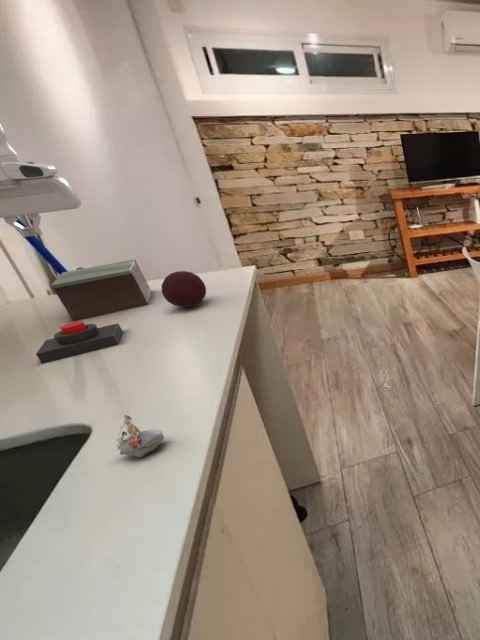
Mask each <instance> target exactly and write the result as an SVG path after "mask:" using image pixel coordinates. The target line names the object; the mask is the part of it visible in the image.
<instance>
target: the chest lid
mask: <svg viewBox="0 0 480 640" xmlns="http://www.w3.org/2000/svg"><path fill="white" fill-rule="evenodd" d="M136 262H137V260H136V259H130V260H124V261H119V262H118V261H117V262H113V263H107V264H102V265H97V266H90V267H84V268H80V269H75V270H68V271H64V272H63V271H62V272H61V274H59V276H58V277H57V278H56V279H55V280H54V281H53V282H52V283H51V284H50V288H51V289H53V288H58V287H64V286H69V285H74V284H79V283H84V282H90V281H95V280H100V279H105V278H110V277H116V276H121V275H126V274H131V273H132V271H133V268H134V266H135V264H136ZM53 290H54V289H53Z"/></svg>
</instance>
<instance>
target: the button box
mask: <svg viewBox="0 0 480 640" xmlns="http://www.w3.org/2000/svg"><path fill="white" fill-rule="evenodd" d="M84 324H85V326H86V328H87V329H85V330H82V331H79V332H76V333H72V334H66V335H64V334H63V332H62V330H60V331H58V332H56V333H54V335H53V338H49V339H46V340H45V341H44V342H43V343H42V345H41V346H40V347H39V349H38V351H37V352H36V353H35V355H36V357H37V359H38V360H39V361H40V363H41V364H44V363H49V362H53V361H57V360H60V359H65V358H69V357H73V356H76V355H80V354H85V353H89V352H93V351H97V350H100V349H105V348H108V347H113V346H116V345H119V343H120V341H121V338H122V335H123V333H124V330H123V329H122V327H121V326H120V324H119V323H118V322H117V323H113V324H108V325H105V326H100V327H98V326H97V324H94V323H84Z"/></svg>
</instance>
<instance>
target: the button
mask: <svg viewBox="0 0 480 640" xmlns="http://www.w3.org/2000/svg"><path fill="white" fill-rule="evenodd" d="M85 324H86V323H84V321H82V320H76V321H73V322H68V323H66V324H63V325H61V326H60V327H59V329H60V331H62V332H63V334H64V335H66V334H72V333H76V332H79V331H82V330H85V329H87V328H86V326H85Z"/></svg>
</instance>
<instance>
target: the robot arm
mask: <svg viewBox="0 0 480 640" xmlns="http://www.w3.org/2000/svg"><path fill="white" fill-rule="evenodd" d="M7 138H8V137H7V134H6V131H5V130H4V128H3V126H2V125H1V124H0V219H3V220H4V222H5V223H6V224H7V225H9V226H11V227H12V228H14V229H16V230H18V231H19V233H20V235H21V236H22V238H26V237H27V238H28V237H33V236H41V235H43V230H41V227H40V225H41V220H42V216H41V215H40V214H45V213H53V212H60V211H68V210H69V211H70V210H77V209H79V208H80V207H81V205H82V201H81V200H80V198H79V196H78V194H77V193H76V191H75V190H74V188H73V187H72V186H71V184H70V183H69V182H68V181H67V180H66V179H65V178H63V177H62V176H59V175H57V174H58V170H57V168H56V167H55V165H53V164H47V163H40V162H35V161H23V160H21V159H20V157H19V155H18V153H17V152H16V150H14V149H13V148H12V147H11V145H10V144H9V142H8V139H7ZM21 216H27V217H28V219H29V220H30V221H33V222H32V226H28V227H27V226H26V227H24V226H23V225H21V224H20V223H18V222H17V221H18V217H21Z"/></svg>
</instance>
